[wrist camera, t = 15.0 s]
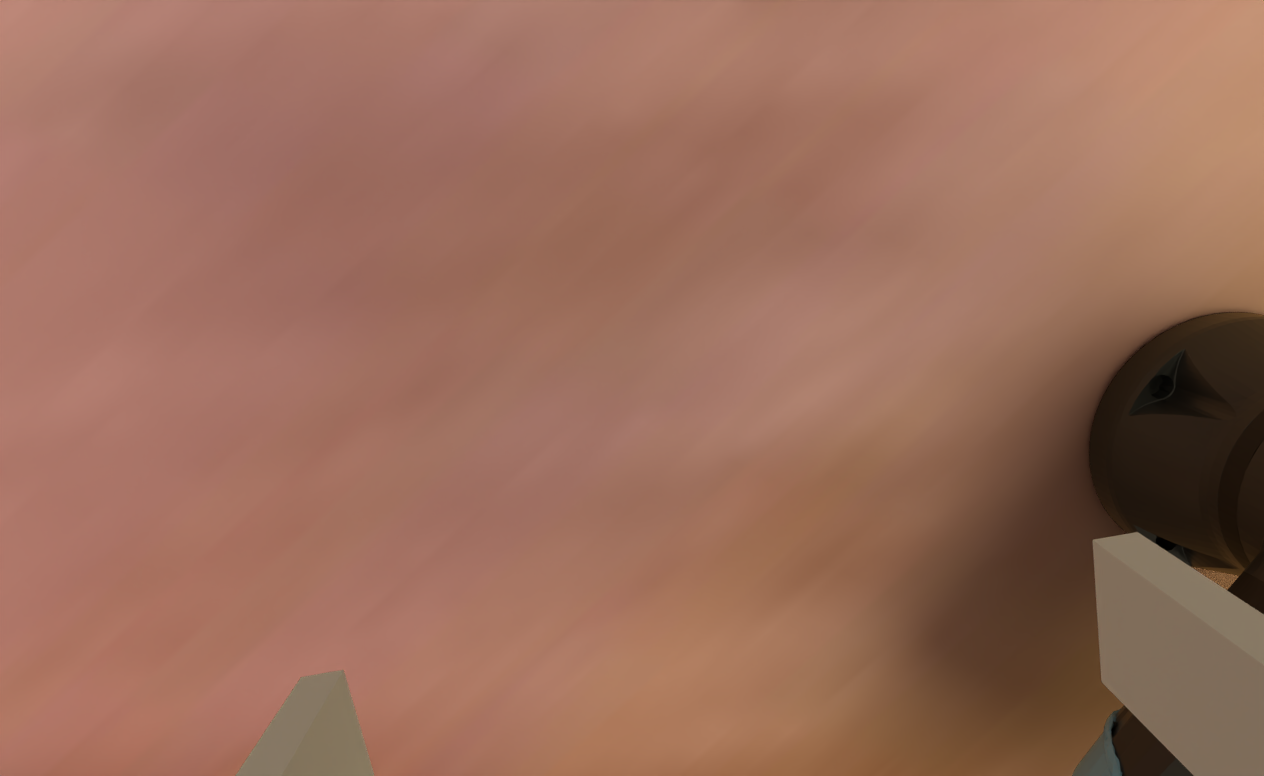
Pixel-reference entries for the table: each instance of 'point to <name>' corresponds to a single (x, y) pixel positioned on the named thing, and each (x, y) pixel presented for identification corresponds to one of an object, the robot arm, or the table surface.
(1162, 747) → the robot arm
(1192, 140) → the table surface
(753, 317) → the table surface
